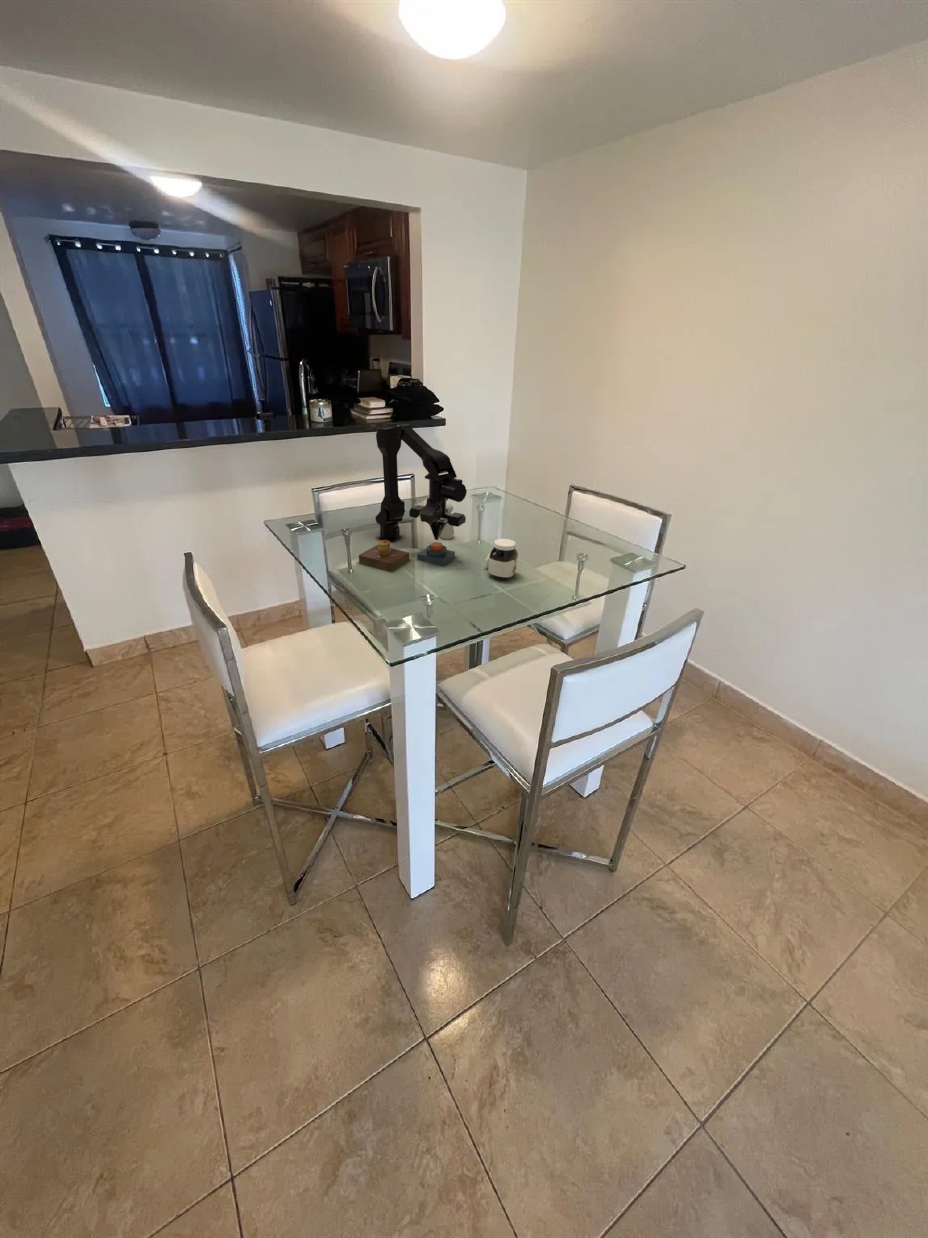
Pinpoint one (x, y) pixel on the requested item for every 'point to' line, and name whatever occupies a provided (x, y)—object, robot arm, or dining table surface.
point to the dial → (384, 548)
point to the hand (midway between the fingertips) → (436, 539)
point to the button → (436, 546)
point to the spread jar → (502, 559)
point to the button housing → (436, 555)
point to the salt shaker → (448, 529)
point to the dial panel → (384, 559)
